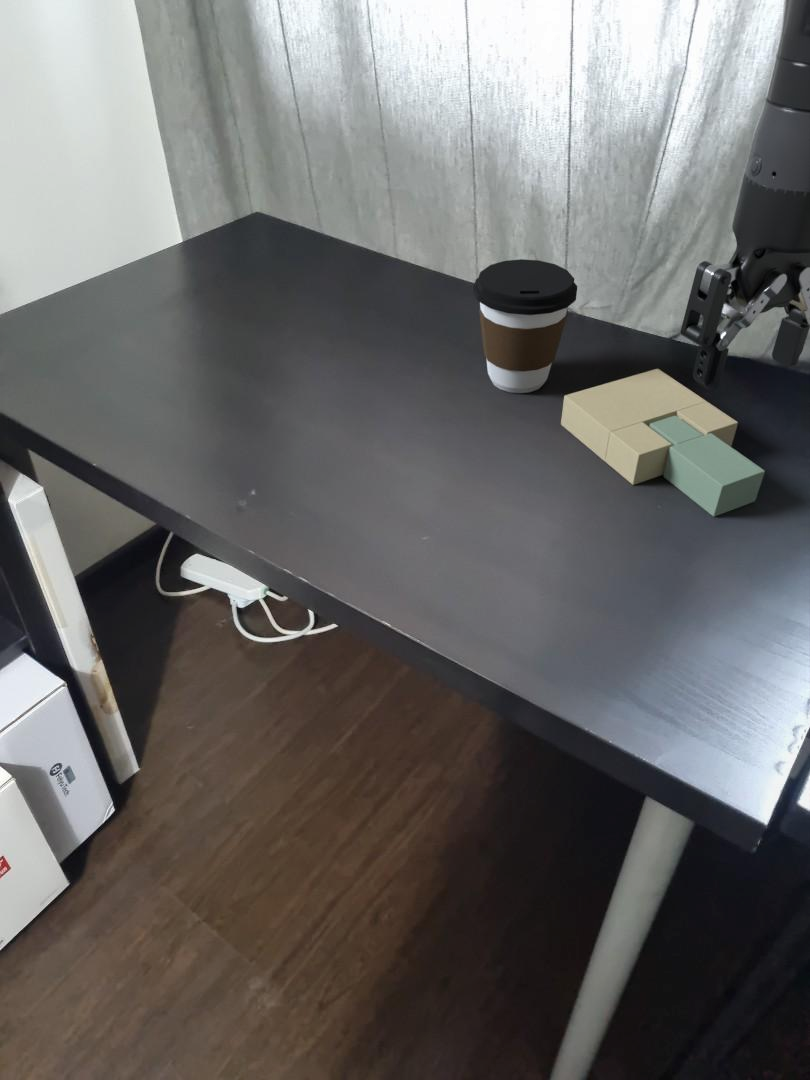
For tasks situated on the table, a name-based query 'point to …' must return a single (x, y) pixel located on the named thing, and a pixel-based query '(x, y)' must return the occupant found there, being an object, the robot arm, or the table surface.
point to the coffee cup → (522, 320)
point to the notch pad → (639, 421)
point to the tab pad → (708, 468)
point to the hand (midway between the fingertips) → (745, 373)
